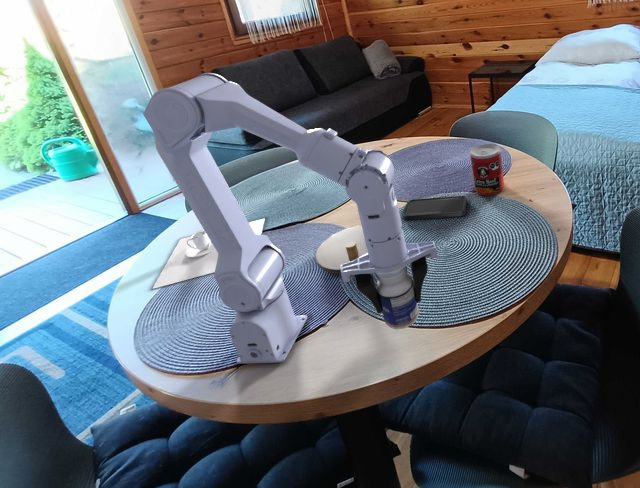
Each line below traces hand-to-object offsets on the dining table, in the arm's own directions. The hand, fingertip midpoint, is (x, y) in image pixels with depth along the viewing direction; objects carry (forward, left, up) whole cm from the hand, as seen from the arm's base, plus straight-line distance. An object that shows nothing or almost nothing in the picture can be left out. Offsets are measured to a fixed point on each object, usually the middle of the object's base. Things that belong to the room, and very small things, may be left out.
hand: (399, 303), depth 69 cm
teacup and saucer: (+26, +51, -5) cm, 57 cm away
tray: (+21, +15, -4) cm, 26 cm away
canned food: (+46, -13, -5) cm, 48 cm away
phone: (+37, 0, -5) cm, 37 cm away
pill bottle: (0, 0, -3) cm, 3 cm away
